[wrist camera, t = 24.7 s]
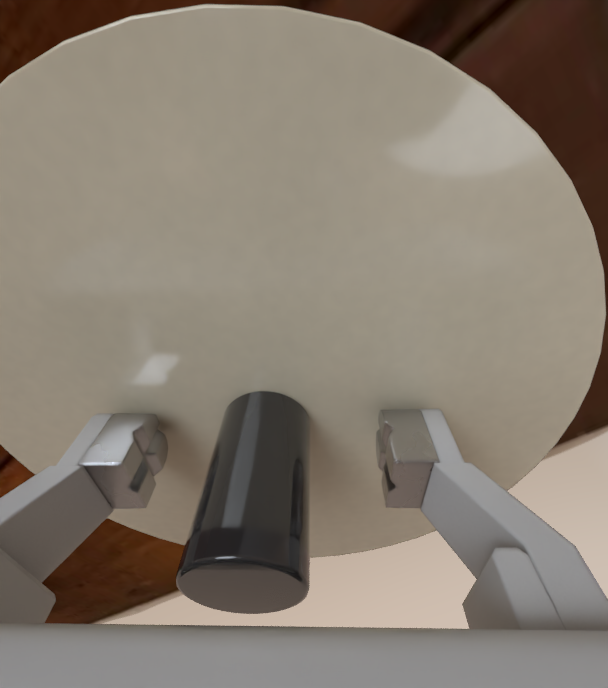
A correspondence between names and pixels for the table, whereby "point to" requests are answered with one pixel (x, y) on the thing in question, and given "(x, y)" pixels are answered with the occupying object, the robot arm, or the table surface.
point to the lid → (282, 277)
